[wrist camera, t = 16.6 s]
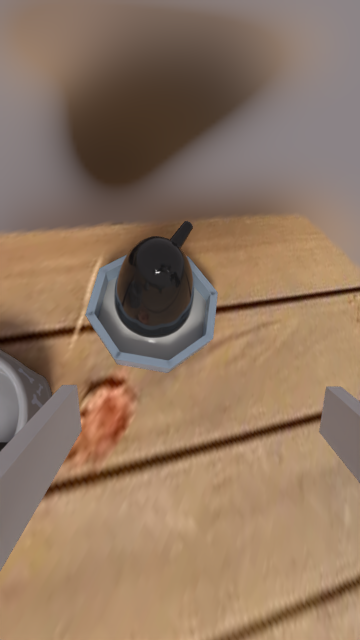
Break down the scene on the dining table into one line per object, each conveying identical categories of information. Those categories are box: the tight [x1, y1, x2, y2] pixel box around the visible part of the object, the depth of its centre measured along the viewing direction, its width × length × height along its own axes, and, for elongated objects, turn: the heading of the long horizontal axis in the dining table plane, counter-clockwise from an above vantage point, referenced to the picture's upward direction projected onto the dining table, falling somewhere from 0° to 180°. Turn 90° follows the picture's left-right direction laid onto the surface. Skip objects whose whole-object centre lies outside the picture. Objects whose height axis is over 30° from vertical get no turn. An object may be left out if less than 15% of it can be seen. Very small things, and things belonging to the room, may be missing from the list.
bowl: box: [85, 255, 218, 373], centre depth 36 cm, size 17×17×4 cm
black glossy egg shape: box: [114, 221, 194, 338], centre depth 30 cm, size 10×10×15 cm
